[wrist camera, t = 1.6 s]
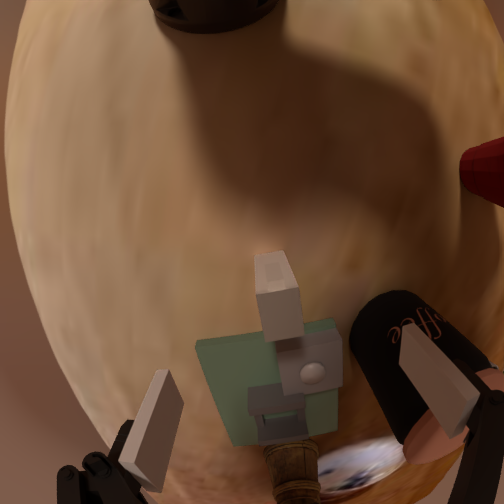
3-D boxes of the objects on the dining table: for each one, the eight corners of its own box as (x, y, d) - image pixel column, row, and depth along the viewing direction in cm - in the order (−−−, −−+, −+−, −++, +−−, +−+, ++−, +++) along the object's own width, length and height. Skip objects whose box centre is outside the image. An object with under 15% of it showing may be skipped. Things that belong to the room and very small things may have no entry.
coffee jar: (431, 292, 31) (523, 368, 13) (400, 361, 33) (461, 452, 16) (364, 279, 30) (456, 377, 13) (334, 356, 33) (381, 473, 15)
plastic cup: (480, 118, 24) (543, 112, 13) (502, 191, 27) (562, 204, 15) (432, 142, 26) (504, 136, 14) (458, 224, 28) (526, 248, 17)
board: (196, 340, 32) (188, 368, 26) (332, 317, 31) (346, 343, 26) (234, 439, 37) (232, 466, 32) (335, 423, 36) (343, 449, 31)
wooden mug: (296, 474, 41) (305, 550, 23) (253, 449, 38) (253, 541, 20) (337, 457, 39) (356, 535, 22) (299, 429, 36) (315, 528, 19)
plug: (253, 248, 29) (254, 285, 19) (282, 243, 29) (297, 278, 19) (261, 290, 30) (265, 342, 20) (288, 285, 30) (304, 335, 20)
